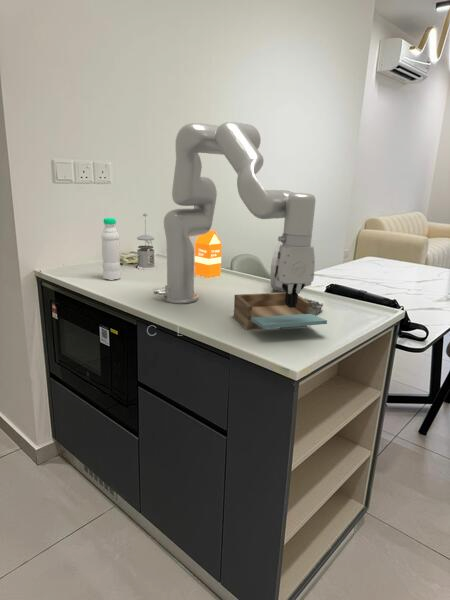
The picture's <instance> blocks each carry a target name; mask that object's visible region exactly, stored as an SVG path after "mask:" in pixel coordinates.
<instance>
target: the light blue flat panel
mask: <svg viewBox="0 0 450 600" xmlns="http://www.w3.org/2000/svg"><path fill="white" fill-rule="evenodd" d="M251 321H252V322H253V323H255V324H257V325H258V326H260V327H262V328H261V329H264V330H265V329H277V328H279V330H285V329H286V330H288V329H301V328H307V327H308V326H317V325H318V326H319V325H320V326H321V325H327V324H328V320H327V319H324V318H322V317H320V316H317V315H312V314H298V315H282V316H267V317H251Z"/></svg>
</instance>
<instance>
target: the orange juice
mask: <svg viewBox="0 0 450 600" xmlns="http://www.w3.org/2000/svg"><path fill="white" fill-rule="evenodd" d="M221 268H222V242H221V240H220V238H219V236H218V233H217V231H215V230H211V229H210V230H209V232H208V233H206V234H204V235H200V236H197V238H196V240H195V242H194V275H195V274H197V275H200V276H204V277H207V278H206V279H208V278H209V279H211V278H210V277H214V278H216V277H215V276H219V277H221V276H220V275H221V270H222V269H221ZM197 275H196V276H197ZM200 276H199V277H200ZM204 277H203V278H204Z"/></svg>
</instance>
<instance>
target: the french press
mask: <svg viewBox="0 0 450 600" xmlns="http://www.w3.org/2000/svg"><path fill="white" fill-rule="evenodd" d="M142 216H143V217H148V214H147V213H145V212H144V213H143V215H142ZM146 223H147V222H146V220H144V226H145V228H144V234H142V235H139V236H137V237H136V239H137V240H138V241H144V242H145V245H139V246H137V248H138V249H137V255H136V256H137V265H138V266H139V267H142V268H154V267H155V266H156V265H155V249H154V246H153V245H150V243H151V244H153V241H154V240H155V237H154V236H152V235H149V234H147V228H146ZM147 244H148V245H147Z"/></svg>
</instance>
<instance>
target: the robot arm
mask: <svg viewBox="0 0 450 600" xmlns="http://www.w3.org/2000/svg"><path fill="white" fill-rule="evenodd" d="M175 138H176V139H175V165H174V173H173V182H172V188H171V189H172V191H171V196H172V201H173V202H174V204H176V205H177V206H181V207H184V206H185V207H190V206H191V207H193V208H175V209H172V210H170V211H168V212H167V213H166V214H165V216H164V217H163V228H164V233H165V241H166V284H165V285H164V287H162V288H153V295H158V296H162V300H163V301H164V302H166V303H170V304H191V303H194V302H195V303H196V302H197V300H199V295H198V294H197V293H195V246H194V244H193V243H192V241H191V239H190V238H191V237H198V236H200V235H204V234H206V233H208V232H209V230H211V228H212V225H213V221H214V214H215V213H214V212H215V209H216V203H217V198H218V197H217V194H218V193H217V192H218V191H217V186H216V184H215V182H214V181H213V180H212V179H211V178H210V177H206V176H202V175H201V174H202V168H203V165H202V160H201V156H200V155H199V154H209V155H211V154H212V155H220V156H221V155H222V156H223V155H224V157H225V158H226V159H227V161H228V163H229V164H230V165H231V167H232V169H233V170H234V171H235V173H236V174H237V177H236V186H237V193H238V195H239V198H240V199H241V201H242V203H243V204H244V206H245V207H246V208H247V209H248V211H249V212H250V213H251V214H252V215H253V216H254V217H255V218H257V219H260V220H271V219H284V222H283V224H284V225H283V233H282V235H280V236H278V238H277V240H278V242H280V241H281V242H282V245H280V247H279V251H278V254H277V259H276V265H275V273H274V277H275V282H274V285H275V286H277V287H281V288H283V289H284V291H286V295H285V303H286V305H287V306H288V307H289V308H292V307H293V308H295V307H296V304H297V299H298V296H299V294H300V293H301V291H302V290H303V289H304V288H306V287H310V286H312V283H313V281H314V279H315V262H316V261H315V258H316V257H315V248H314V246H312V237H313V236H312V235H313V227H314V220H315V219H314V217H315V210H316V197H315V195H314V194H311V193H303V192H293V191H289V190H286V189H285V190H284V189H280V190H279V189H265V188H264V187H263V185H262V184H261V183H260V181H259V179H258V178H257V176H256V174H258V172H259V171H261V169H262V167H263V165H264V162H265V161H264V156H263V155H262V154H261V152H260V151H259V150H258V149H259V148H260V145H261V139H262V138H261V135H260V132H259V130H258V129H257V128H256V127H255V126H254V125H252V124H248V123H242V122H235V121H226V122H224V123H222V124H220V125H216V124H215V125H214V124H209V123H201V122H192V123H187V124H184V125H183V126H182V127H180V129H179V130H178V132H177V135H176V137H175ZM292 284H293V287H292Z"/></svg>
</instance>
